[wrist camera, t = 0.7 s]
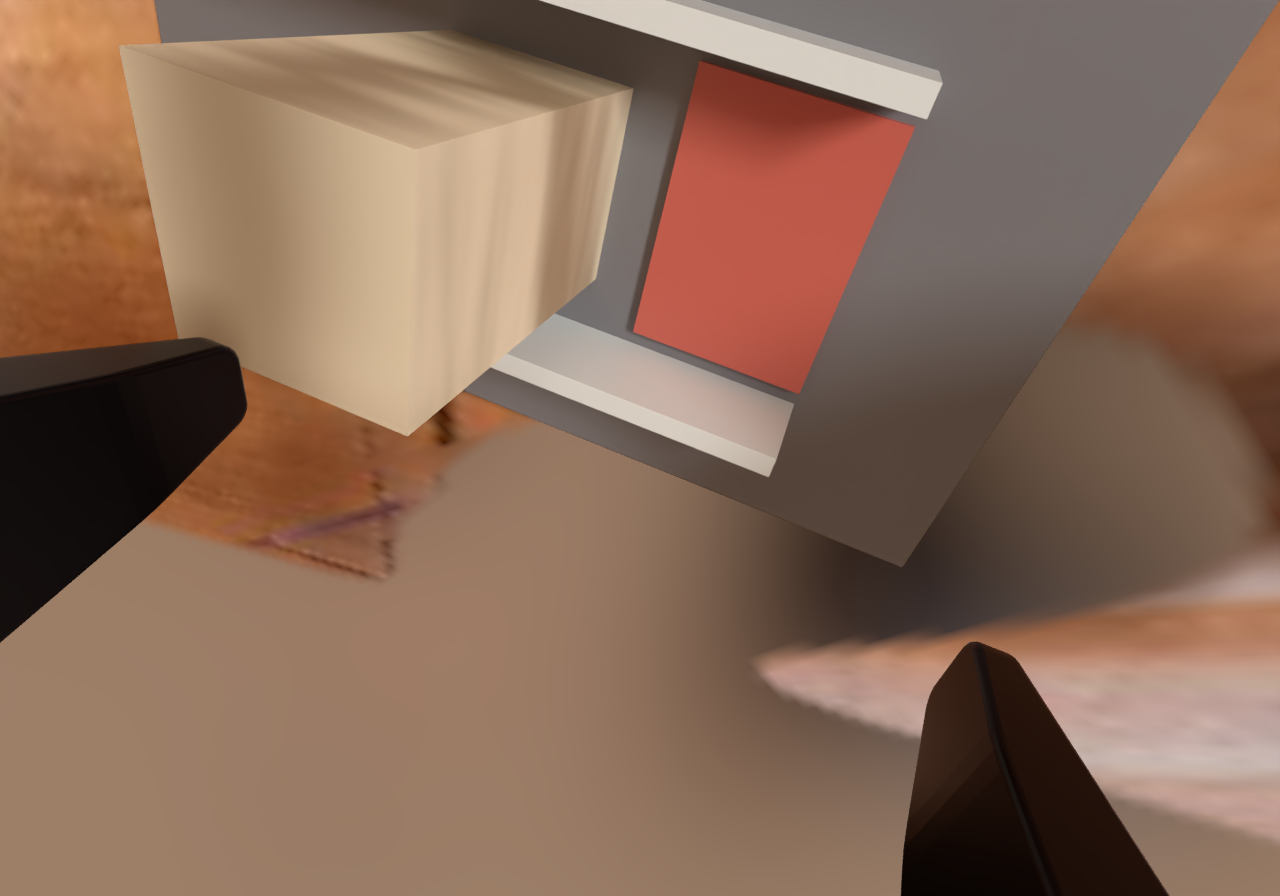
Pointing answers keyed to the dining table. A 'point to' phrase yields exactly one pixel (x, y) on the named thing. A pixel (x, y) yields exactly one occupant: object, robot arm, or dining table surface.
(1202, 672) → the dining table surface
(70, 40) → the dining table surface
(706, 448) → the grey railed tray
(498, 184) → the birch block
